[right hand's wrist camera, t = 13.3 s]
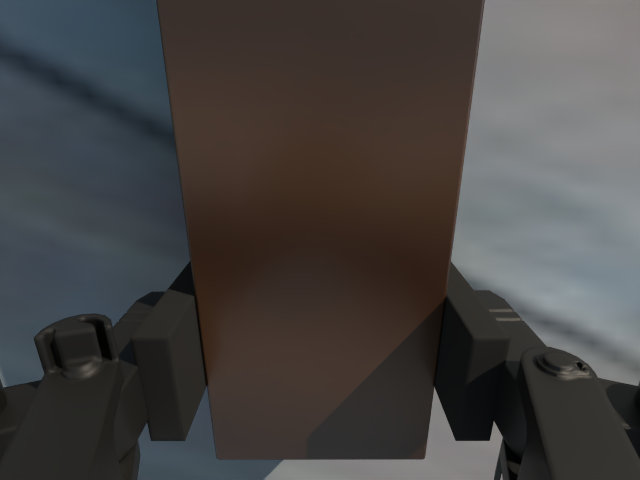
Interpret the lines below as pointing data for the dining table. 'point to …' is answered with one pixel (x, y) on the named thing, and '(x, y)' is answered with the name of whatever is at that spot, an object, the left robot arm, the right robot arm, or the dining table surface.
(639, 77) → the dining table surface
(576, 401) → the right robot arm
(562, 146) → the dining table surface
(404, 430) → the plank
